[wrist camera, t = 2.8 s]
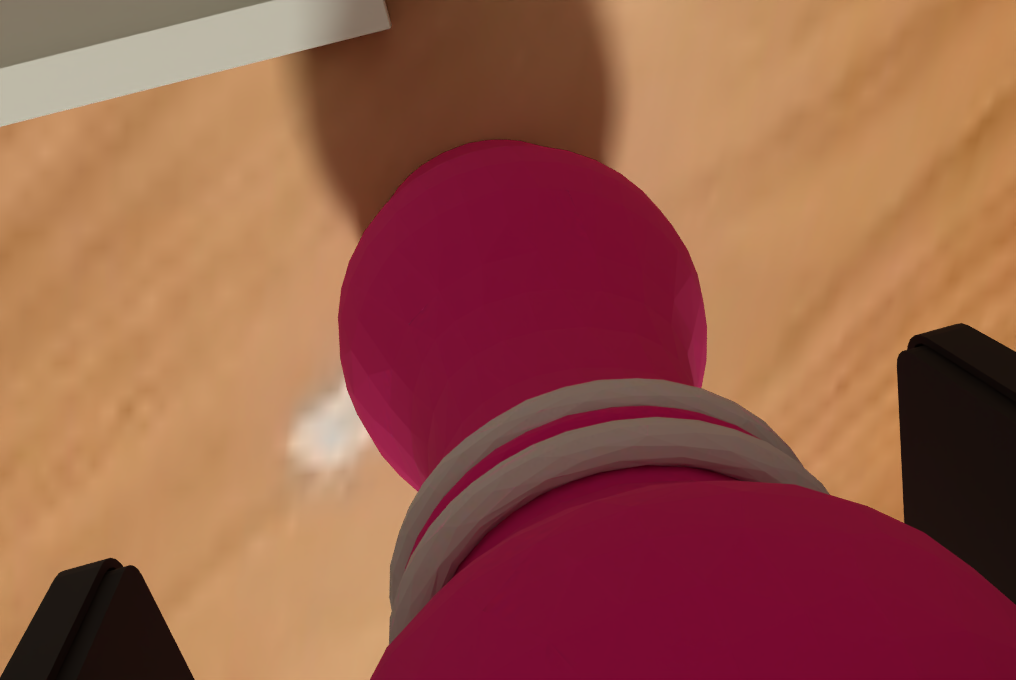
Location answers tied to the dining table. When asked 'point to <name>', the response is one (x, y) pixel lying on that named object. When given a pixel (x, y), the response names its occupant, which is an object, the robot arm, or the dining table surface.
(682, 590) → the pepper mill
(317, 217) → the dining table surface
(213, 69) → the tray
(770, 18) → the dining table surface
